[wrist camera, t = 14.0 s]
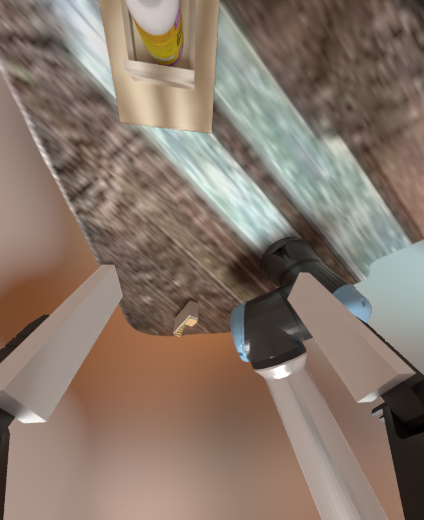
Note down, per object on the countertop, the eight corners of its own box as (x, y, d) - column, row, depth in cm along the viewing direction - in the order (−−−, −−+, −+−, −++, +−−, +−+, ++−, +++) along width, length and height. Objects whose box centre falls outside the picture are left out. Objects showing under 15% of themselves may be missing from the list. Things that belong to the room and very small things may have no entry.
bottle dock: (223, -74, 19) (230, -143, 15) (210, 133, 29) (213, 128, 25) (82, -112, 17) (44, -203, 13) (123, 123, 28) (109, 115, 23)
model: (198, 302, 54) (198, 321, 48) (183, 319, 58) (181, 338, 52) (190, 299, 53) (189, 317, 46) (175, 316, 57) (172, 336, 51)
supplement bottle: (185, 71, 24) (179, 12, 15) (147, 69, 24) (116, 7, 14) (181, 7, 21) (170, -121, 12) (138, 3, 21) (89, -133, 11)
